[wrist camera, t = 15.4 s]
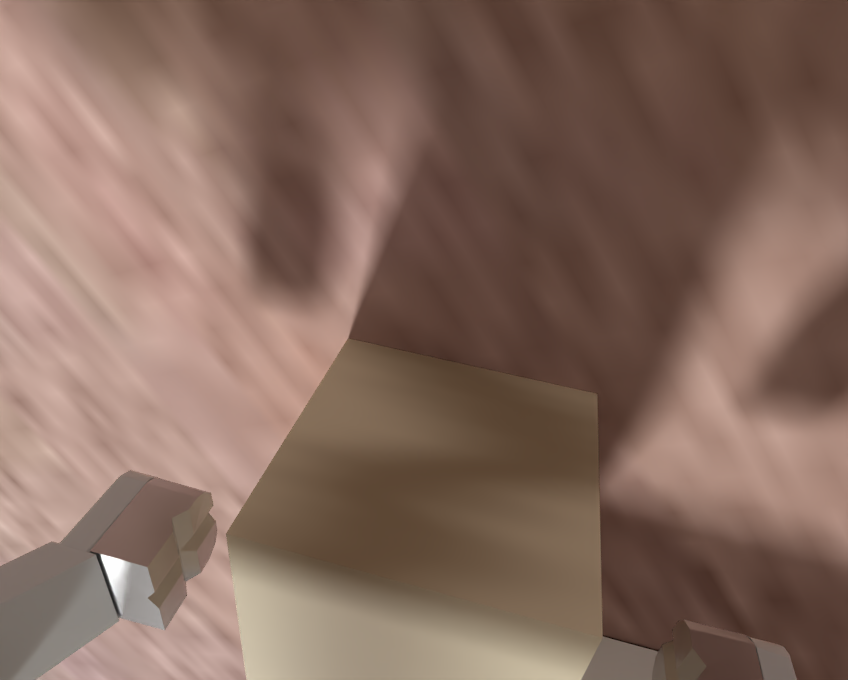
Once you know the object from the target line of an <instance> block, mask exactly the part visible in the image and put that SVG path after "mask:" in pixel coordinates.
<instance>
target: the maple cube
mask: <svg viewBox="0 0 848 680" xmlns="http://www.w3.org/2000/svg"><path fill="white" fill-rule="evenodd" d="M226 537H227V544H228V551H229V558H230V565H231V573H232V580H233V587H234V594H235V601H236V608H237V616H238V623H239V630H240V637H241V644H242V651H243V659H244V666H245V673H246V680H581V679H582V677H583V675H584V673H585V671H586V669H587V667H588V665H589V663H590V661H591V660H592V658H593V656H594V654H595V652H596V650H597V648H598V646H599V644H600V642H601V640H602V638H603V629H602V583H601V537H600V490H599V444H598V398H597V394H596V393H592V392H587V391H583V390H578V389H574V388H569V387H565V386H560V385H556V384H551V383H547V382H542V381H538V380H533V379H529V378H524V377H520V376H515V375H511V374H506V373H502V372H497V371H493V370H488V369H484V368H479V367H475V366H470V365H466V364H461V363H457V362H452V361H448V360H443V359H439V358H434V357H430V356H425V355H421V354H416V353H412V352H407V351H403V350H398V349H394V348H389V347H385V346H380V345H376V344H371V343H367V342H362V341H358V340H353V339H349V338H348V340H347V341H346V343H345V344H344V346H343V348H342V349H341V351H340V352H339V354H338V356H337V357H336V359H335V360H334V362H333V364H332V365H331V367H330V368H329V370H328V372H327V373H326V375H325V376H324V378H323V379H322V381H321V383H320V384H319V386H318V387H317V389H316V391H315V392H314V394H313V395H312V397H311V399H310V400H309V402H308V403H307V405H306V407H305V408H304V410H303V411H302V413H301V415H300V416H299V418H298V419H297V421H296V423H295V424H294V426H293V427H292V429H291V431H290V432H289V434H288V435H287V437H286V439H285V440H284V442H283V443H282V445H281V447H280V448H279V450H278V451H277V453H276V455H275V456H274V458H273V459H272V461H271V463H270V464H269V466H268V467H267V469H266V471H265V472H264V474H263V475H262V477H261V479H260V480H259V482H258V483H257V485H256V487H255V488H254V490H253V491H252V493H251V495H250V496H249V498H248V499H247V501H246V503H245V504H244V506H243V507H242V509H241V511H240V512H239V514H238V515H237V517H236V519H235V520H234V522H233V523H232V525H231V527H230V528H229V530H228V531H227V533H226Z"/></svg>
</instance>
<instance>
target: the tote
mask: <svg viewBox="0 0 848 680" xmlns="http://www.w3.org/2000/svg"><path fill="white" fill-rule="evenodd" d="M657 653H658V651H654V650H651V649H647V648H643V647H640V646H636V645H632V644H629V643H625V642H621V641H618V640H614V639H611V638H607V637H603V638H602V640H601V642H600V644H599V646H598V648H597V650H596V652H595V654H594V656H593V658H592V660H591V661H590V663H589V665H588V667H587V669H586V671H585V673H584V675H583V677H582V679H581V680H652V671H653V667H654V662H655V658H656V655H657Z"/></svg>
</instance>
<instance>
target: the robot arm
mask: <svg viewBox="0 0 848 680" xmlns="http://www.w3.org/2000/svg"><path fill="white" fill-rule="evenodd" d="M212 506H213V501H212V496H211V493H210V492H206V491H203V490H199V489H196V488H192V487H188V486H185V485H181V484H178V483H174V482H171V481H167V480H164V479H160V478H158V477H154V476H150V475H147V474H143V473H139V472H135V471H132V470H130V471H128V472H126V473H124V474H123V475H121V476H120V477H119V478H118V479H117V480H116V481H115V482H114V483H113V484H112V485H111V487H110V488H109V489H108V490H107V491H106V492H105V493H104V494H103V495H102V497H101V498H100V499H99V500H98V501H97V502H96V503H95V504H94V505H93V507H92V508H91V509H90V510H89V511H88V512H87V513H86V514H85V516H84V517H83V518H82V519H81V520H80V521H79V522H78V523H77V524H76V526H75V527H74V528H73V529H72V530H71V531H70V532H69V533H68V535H67V536H66V537H65V538H64V539H63V540H62V541H61V542H60V543H56V542H50V543H48V544H45V545H43V546H41V547H39V548H37V549H35V550H33V551H31V552H29V553H27V554H25V555H23V556H20V557H18V558H16V559H14V560H12V561H10V562H8V563H6V564H4V565H2V566H0V680H36V679H37V678H39V677H40V676H42V675H43V674H44V673H46V672H47V671H49V670H50V669H51V668H53V667H54V666H56V665H57V664H59V663H60V662H61V661H63V660H64V659H66V658H67V657H69V656H70V655H71V654H73V653H74V652H76V651H77V650H78V649H80V648H81V647H83V646H84V645H86V644H87V643H88V642H90V641H91V640H93V639H94V638H96V637H97V636H98V635H100V634H101V633H103V632H104V631H105V630H107V629H108V628H110V627H111V626H113V625H114V624H115V623H117V622H118V621H119V618H122V619H126V620H129V621H133V622H137V623H140V624H144V625H148V626H151V627H155V628H159V629H162V630H165V629H166V628H167V626H168V624H169V623H170V621H171V620H172V618H173V617H174V615H175V613H176V612H177V610H178V609H179V607H180V605H181V604H182V602H183V601H184V599H185V597H186V596H187V590H186V581H188V580H189V579H191V578H193V577H194V576H196V575H198V574H199V573H201V572H202V570H203V568H204V567H205V565H206V563H207V562H208V560H209V558H210V556H211V553H212V550H213V548H214V545H215V542H216V535H217V526H216V521H215V520H214V519H213V517H212V516H211V515H210V514H209V513H208V512H209V511H210V509H211V508H212ZM672 634H673V641H671V642H668V643H665V644H662V646H661V648H660V650H659V651H658V653H657V655H656V658H655V662H654V667H653V671H652V680H797V678H796V675H795V671H794V668H793V664H792V661H791V658H790V655H789V653H788V652H787V650H786V649H785V648H784V647H783V646H781V645H779V644H776V643H772V642H768V641H764V640H760V639H756V638H752V637H748V636H746V635H744V634H740V633H736V632H732V631H728V630H724V629H720V628H716V627H712V626H708V625H704V624H700V623H696V622H692V621H689V620H685V619H683V620H680V621H678V622H677V623H676V625H675V626H674V628H673V629H672Z"/></svg>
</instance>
